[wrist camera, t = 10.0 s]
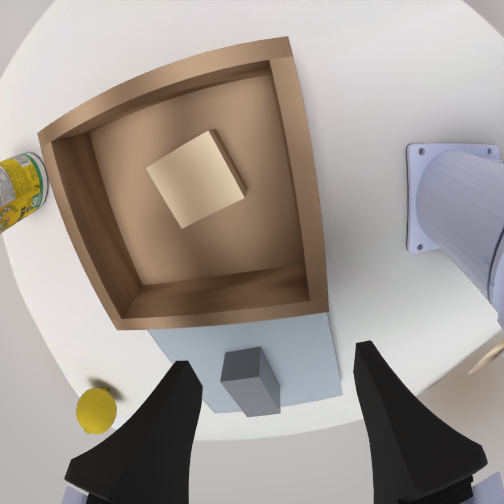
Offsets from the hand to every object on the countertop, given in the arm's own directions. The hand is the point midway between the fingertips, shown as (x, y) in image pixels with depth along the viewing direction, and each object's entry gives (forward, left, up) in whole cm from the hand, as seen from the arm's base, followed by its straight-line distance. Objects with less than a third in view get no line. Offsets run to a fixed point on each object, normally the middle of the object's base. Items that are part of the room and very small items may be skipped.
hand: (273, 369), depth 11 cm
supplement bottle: (+19, -11, -10) cm, 24 cm away
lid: (+3, +9, -10) cm, 14 cm away
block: (+3, -7, -8) cm, 11 cm away
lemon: (+26, +17, -10) cm, 33 cm away
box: (+4, -6, -9) cm, 12 cm away
